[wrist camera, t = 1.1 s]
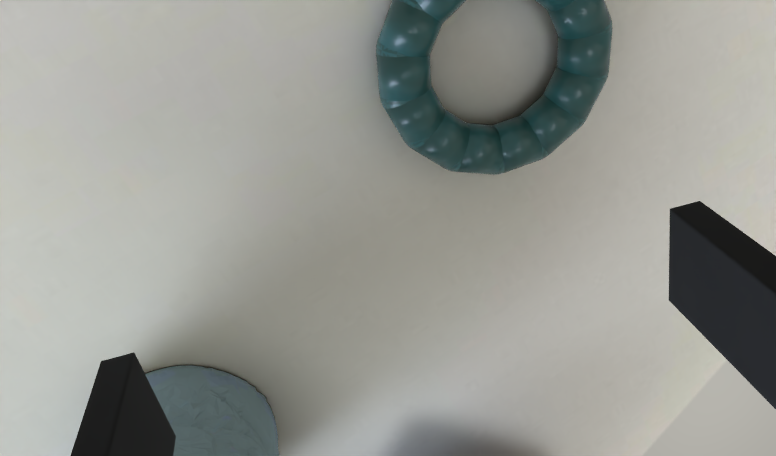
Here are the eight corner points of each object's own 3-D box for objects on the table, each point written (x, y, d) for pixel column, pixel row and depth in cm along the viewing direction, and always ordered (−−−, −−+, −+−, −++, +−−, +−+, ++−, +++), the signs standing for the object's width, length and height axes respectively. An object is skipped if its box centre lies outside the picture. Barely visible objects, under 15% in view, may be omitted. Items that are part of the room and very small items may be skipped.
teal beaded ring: (390, -90, 24) (401, -88, 22) (627, -52, 26) (654, -47, 24) (357, 153, 28) (364, 172, 26) (564, 170, 30) (584, 188, 28)
